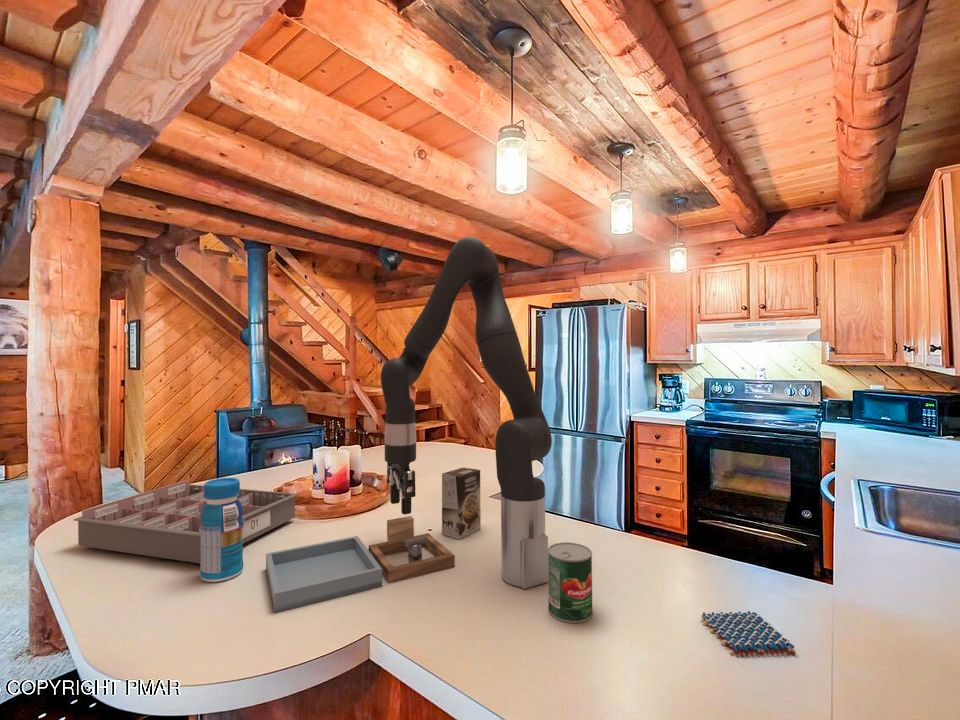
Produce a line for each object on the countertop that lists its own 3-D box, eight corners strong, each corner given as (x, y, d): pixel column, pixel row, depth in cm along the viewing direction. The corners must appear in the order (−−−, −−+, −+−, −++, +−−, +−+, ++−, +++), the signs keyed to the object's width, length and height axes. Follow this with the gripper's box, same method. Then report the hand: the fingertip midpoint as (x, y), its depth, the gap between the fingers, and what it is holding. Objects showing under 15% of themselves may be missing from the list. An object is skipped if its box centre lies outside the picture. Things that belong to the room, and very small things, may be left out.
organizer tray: (203, 572, 101) (202, 526, 101) (72, 552, 112) (72, 511, 112) (299, 521, 132) (298, 486, 132) (189, 509, 143) (188, 477, 143)
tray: (382, 586, 94) (381, 568, 94) (274, 613, 84) (274, 593, 84) (357, 550, 111) (357, 535, 111) (266, 569, 102) (265, 553, 102)
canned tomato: (561, 595, 90) (561, 538, 90) (600, 609, 85) (599, 549, 85) (539, 613, 83) (539, 552, 83) (579, 629, 78) (579, 564, 78)
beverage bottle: (193, 586, 94) (193, 488, 94) (206, 567, 103) (206, 477, 102) (238, 581, 97) (238, 485, 96) (247, 563, 105) (248, 475, 105)
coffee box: (460, 540, 117) (459, 476, 117) (441, 534, 121) (440, 472, 121) (481, 529, 124) (481, 469, 124) (463, 524, 128) (462, 466, 128)
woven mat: (755, 620, 82) (755, 608, 82) (799, 659, 71) (799, 645, 71) (697, 621, 81) (697, 610, 81) (732, 661, 71) (732, 648, 71)
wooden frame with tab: (454, 566, 102) (454, 532, 102) (388, 583, 95) (388, 546, 95) (428, 542, 116) (427, 512, 116) (368, 555, 108) (368, 523, 108)
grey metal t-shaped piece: (428, 566, 102) (428, 539, 102) (406, 571, 100) (406, 544, 100) (423, 561, 105) (423, 534, 105) (402, 566, 103) (401, 539, 103)
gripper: (426, 445, 107) (426, 515, 107) (405, 435, 119) (405, 497, 120) (394, 448, 103) (394, 520, 104) (376, 437, 116) (377, 502, 116)
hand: (400, 508), depth 112 cm, fingers open, 8 cm apart
